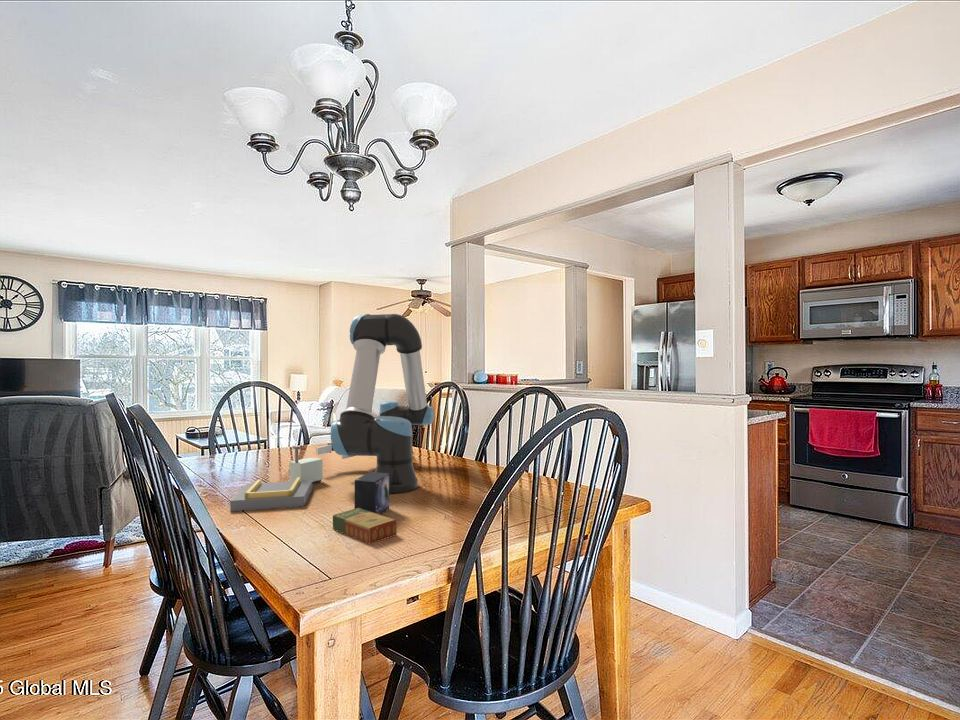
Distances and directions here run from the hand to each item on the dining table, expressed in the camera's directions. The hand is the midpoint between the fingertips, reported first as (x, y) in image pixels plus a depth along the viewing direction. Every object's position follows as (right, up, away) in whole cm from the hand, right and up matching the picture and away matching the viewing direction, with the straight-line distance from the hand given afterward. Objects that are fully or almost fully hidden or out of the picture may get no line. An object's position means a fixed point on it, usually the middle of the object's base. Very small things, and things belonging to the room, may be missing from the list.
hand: (329, 453), depth 187 cm
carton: (+26, -10, -58) cm, 64 cm away
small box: (+25, -9, -43) cm, 50 cm away
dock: (-9, -9, -28) cm, 31 cm away
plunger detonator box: (-5, -9, -9) cm, 14 cm away
